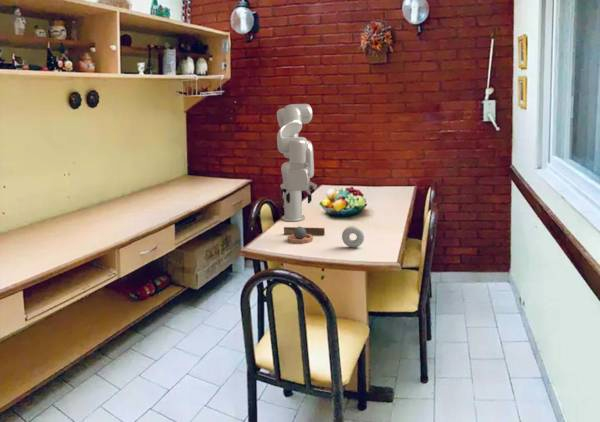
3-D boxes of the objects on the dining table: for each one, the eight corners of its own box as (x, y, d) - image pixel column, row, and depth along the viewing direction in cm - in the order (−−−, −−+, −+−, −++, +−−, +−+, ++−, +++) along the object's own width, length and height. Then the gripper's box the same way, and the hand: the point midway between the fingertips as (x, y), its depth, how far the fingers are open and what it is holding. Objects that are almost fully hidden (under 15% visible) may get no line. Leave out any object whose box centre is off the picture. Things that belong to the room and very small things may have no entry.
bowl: (290, 236, 270) (290, 233, 270) (314, 237, 268) (314, 233, 267) (285, 243, 259) (285, 239, 259) (310, 244, 257) (309, 240, 256)
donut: (341, 248, 249) (341, 226, 247) (342, 246, 252) (342, 224, 250) (363, 249, 247) (363, 227, 245) (364, 246, 250) (364, 225, 248)
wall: (284, 233, 275) (284, 227, 275) (324, 234, 272) (324, 227, 271) (284, 234, 274) (283, 227, 274) (324, 235, 270) (324, 228, 270)
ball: (295, 237, 267) (294, 225, 265) (307, 237, 266) (307, 225, 264) (292, 240, 261) (292, 228, 260) (305, 241, 260) (304, 228, 258)
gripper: (317, 165, 257) (318, 201, 261) (281, 164, 261) (282, 200, 265) (315, 167, 250) (315, 204, 254) (277, 167, 254) (279, 204, 258)
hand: (299, 202), depth 259 cm, fingers open, 9 cm apart
